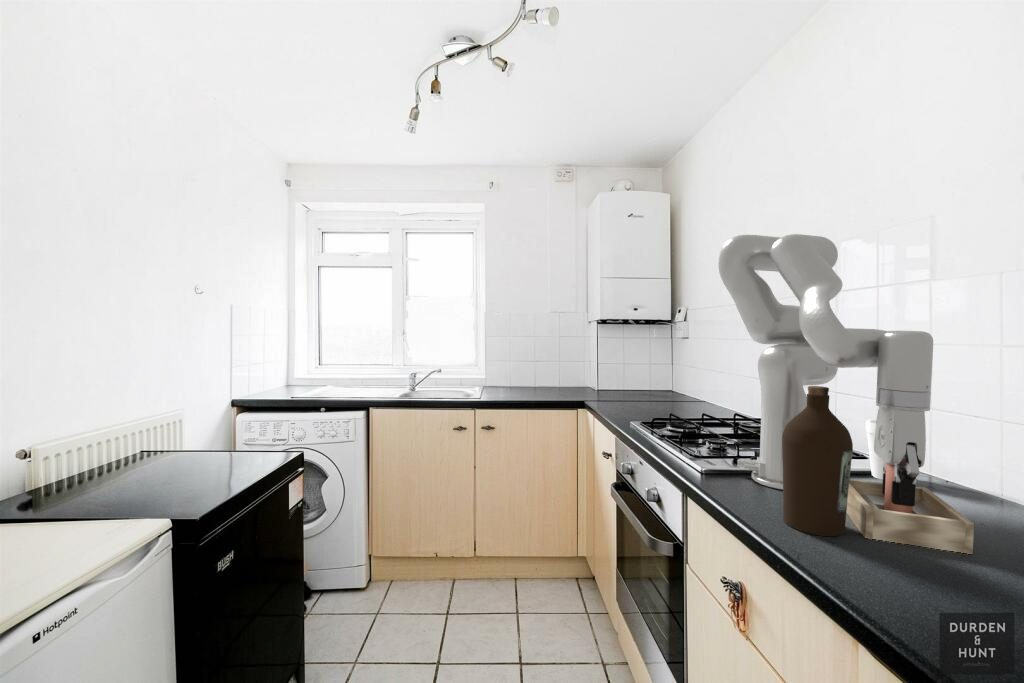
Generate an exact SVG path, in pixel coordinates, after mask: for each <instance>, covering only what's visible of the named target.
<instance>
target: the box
mask: <svg viewBox="0 0 1024 683" xmlns="http://www.w3.org/2000/svg"><path fill="white" fill-rule="evenodd" d="M882 486H883V482H877V481H870V480H862V479H853V478H850V479H849V489H848V499H847V511H846V515H847V516H848V517H849V518H850V519H851V521H852V522H853V524H854V525H855V527H856V528H857V529H858V531H859V532H860V533H861V535H862V534H863V535H862V536H863V537H864V539H865V538H868V539H867V540H872V539H876V540H875V541H878V540H883V541H882V542H885V541H890V542H889V543H891V542H895V543H894V544H897V543H902V544H901V545H904V544H910V545H917V546H923V547H929V548H928V549H930V548H935V549H934V550H936V549H941V550H940V551H943V550H949V551H954V552H953V553H956V552H961V553H960V554H962V553H967V554H966V555H968V554H973V552H974V551H973V550H974V536H975V535H974V534H975V532H974V531H975V523H973V521H971V520H970V519H968V518H967V517H966V516H964V515H963V514H961V513H960V511H958V510H957V509H955V508H954V507H952V506H951V505H950V504H948V503H947V502H946V501H945V500H943V499H942V498H940V497H939V496H938V495H936V494H935V493H934V492H932V491H931V490H929V489H928V488H927V487H923V486H922V487H921V486H916V489H915V505H914V506H913V514H911V513H904V512H896V511H889V510H884V501H885V495H884V494H883V493H882ZM910 545H909V546H910ZM917 546H916V547H917ZM923 547H922V548H923ZM949 551H948V552H949Z"/></svg>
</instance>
